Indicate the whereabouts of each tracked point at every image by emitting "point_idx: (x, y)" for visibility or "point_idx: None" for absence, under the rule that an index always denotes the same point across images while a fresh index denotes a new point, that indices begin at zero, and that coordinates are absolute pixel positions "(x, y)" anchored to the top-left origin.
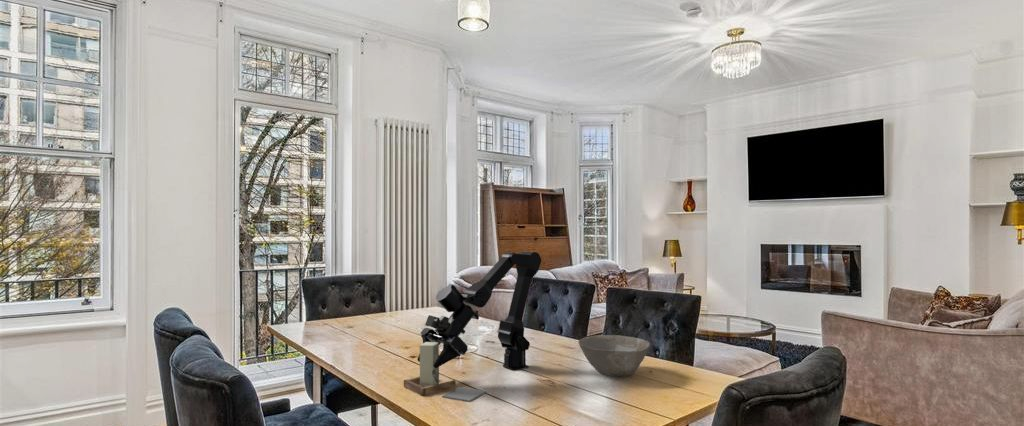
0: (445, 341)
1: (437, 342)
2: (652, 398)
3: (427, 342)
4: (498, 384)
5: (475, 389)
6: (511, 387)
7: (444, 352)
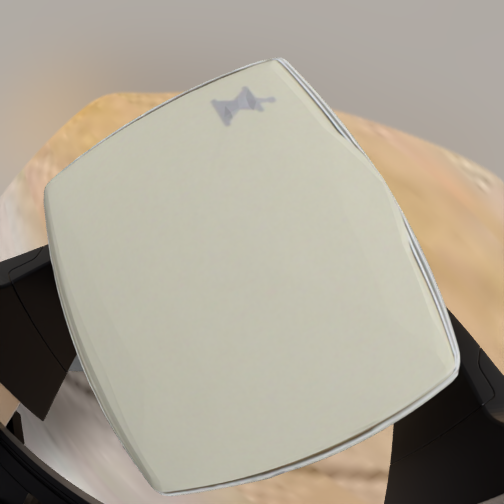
0: (44, 492)
1: (167, 484)
2: None
3: (375, 340)
4: (80, 460)
5: (74, 368)
6: (42, 440)
7: (2, 265)
